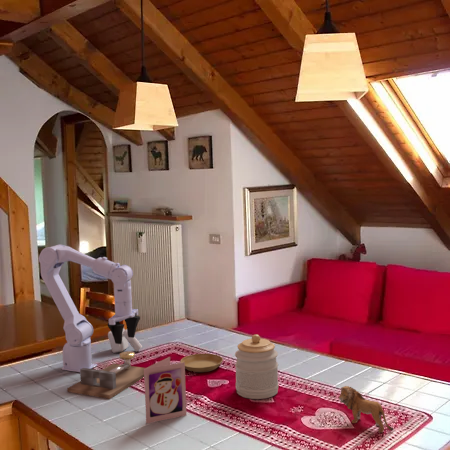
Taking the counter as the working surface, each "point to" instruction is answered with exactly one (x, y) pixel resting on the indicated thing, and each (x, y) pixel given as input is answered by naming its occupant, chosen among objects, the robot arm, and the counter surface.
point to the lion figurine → (362, 406)
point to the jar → (256, 368)
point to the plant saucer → (202, 362)
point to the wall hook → (123, 342)
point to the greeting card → (165, 391)
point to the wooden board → (106, 381)
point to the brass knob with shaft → (126, 357)
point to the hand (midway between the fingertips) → (125, 340)
